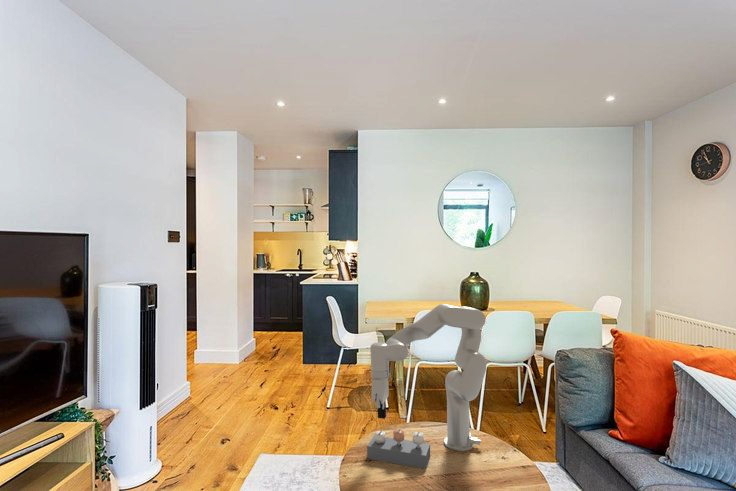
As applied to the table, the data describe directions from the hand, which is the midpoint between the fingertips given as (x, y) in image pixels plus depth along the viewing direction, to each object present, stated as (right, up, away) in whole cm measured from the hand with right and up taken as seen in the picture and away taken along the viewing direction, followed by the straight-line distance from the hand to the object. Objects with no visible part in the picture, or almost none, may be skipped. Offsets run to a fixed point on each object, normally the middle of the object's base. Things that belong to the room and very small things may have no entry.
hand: (381, 417), depth 160 cm
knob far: (-1, -13, -1) cm, 13 cm away
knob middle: (+7, -11, -3) cm, 13 cm away
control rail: (+7, -15, -3) cm, 17 cm away
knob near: (+14, -11, -6) cm, 19 cm away
